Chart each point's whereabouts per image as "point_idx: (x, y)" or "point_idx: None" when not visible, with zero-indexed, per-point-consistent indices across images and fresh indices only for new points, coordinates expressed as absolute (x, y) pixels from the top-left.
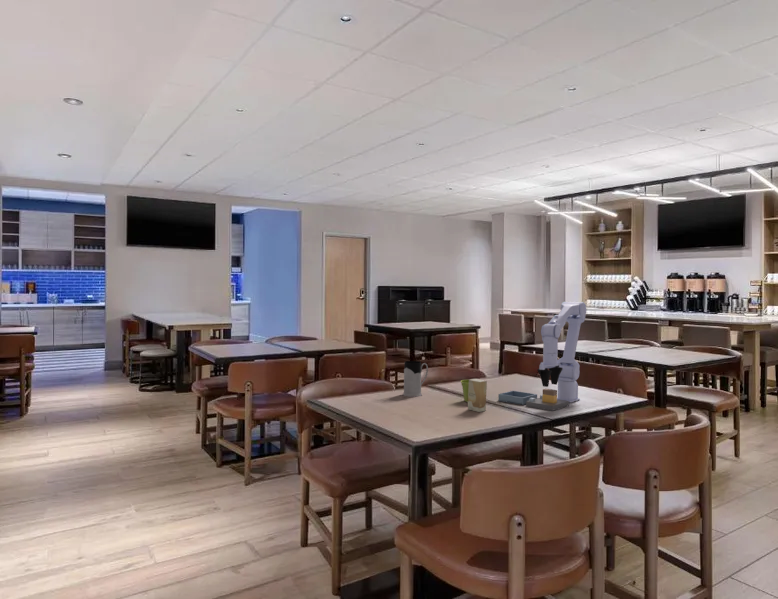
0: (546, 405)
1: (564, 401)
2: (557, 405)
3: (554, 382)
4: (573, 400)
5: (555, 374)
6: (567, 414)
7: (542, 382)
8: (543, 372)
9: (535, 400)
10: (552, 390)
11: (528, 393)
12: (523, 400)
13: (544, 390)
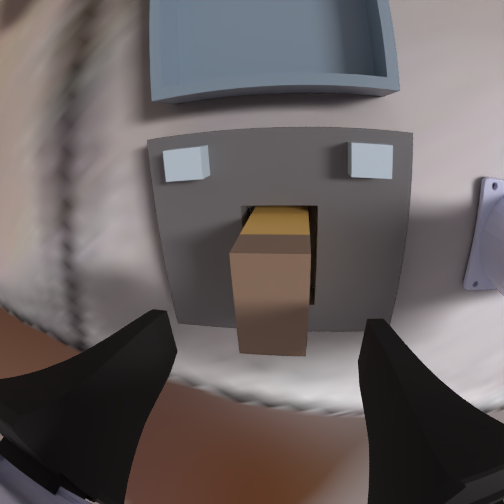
0: (171, 286)
1: (356, 321)
2: (235, 324)
3: (364, 362)
4: (494, 287)
5: (381, 451)
6: (186, 369)
7: (126, 332)
8: (67, 432)
9: (231, 163)
10: (254, 339)
11: (378, 17)
12: (167, 101)
13: (232, 269)
